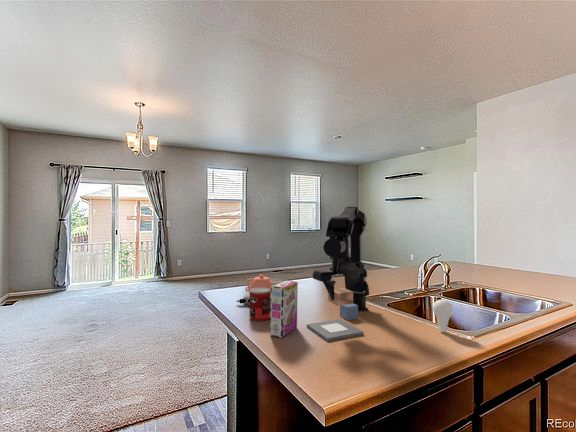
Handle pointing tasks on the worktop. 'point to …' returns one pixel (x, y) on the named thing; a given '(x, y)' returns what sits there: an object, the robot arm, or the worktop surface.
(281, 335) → the candy bar box
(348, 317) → the blue cube
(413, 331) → the worktop surface
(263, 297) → the canned food
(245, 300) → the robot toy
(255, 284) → the sugar bowl
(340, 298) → the terracotta block
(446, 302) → the lightbulb
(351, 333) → the board
